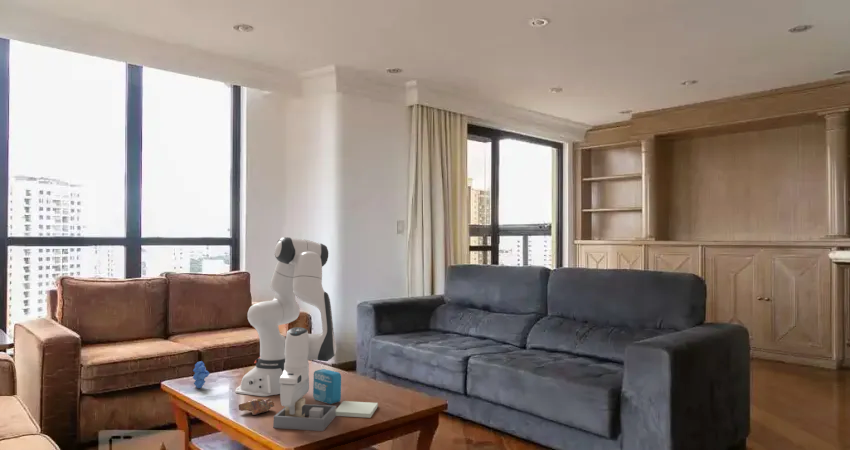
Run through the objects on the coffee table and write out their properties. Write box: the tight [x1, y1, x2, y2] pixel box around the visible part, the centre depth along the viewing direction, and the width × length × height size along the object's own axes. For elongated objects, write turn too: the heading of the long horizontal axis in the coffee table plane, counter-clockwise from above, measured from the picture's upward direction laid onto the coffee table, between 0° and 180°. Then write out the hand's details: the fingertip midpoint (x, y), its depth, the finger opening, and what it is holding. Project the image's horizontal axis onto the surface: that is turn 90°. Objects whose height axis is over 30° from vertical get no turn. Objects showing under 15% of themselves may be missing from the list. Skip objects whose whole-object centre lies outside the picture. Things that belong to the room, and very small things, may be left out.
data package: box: [312, 368, 342, 405], centre depth 238 cm, size 12×4×12 cm, turn 51°
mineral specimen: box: [238, 398, 275, 416], centre depth 221 cm, size 12×8×7 cm
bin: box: [272, 403, 337, 432], centre depth 211 cm, size 18×16×4 cm
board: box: [336, 400, 379, 419], centre depth 225 cm, size 14×14×2 cm
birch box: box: [284, 397, 306, 417], centre depth 212 cm, size 6×4×7 cm, turn 83°
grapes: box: [192, 360, 211, 389], centre depth 253 cm, size 12×7×12 cm, turn 37°
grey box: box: [308, 407, 323, 418], centre depth 211 cm, size 4×4×5 cm
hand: (295, 411), depth 212 cm, fingers closed on birch box, 4 cm apart
